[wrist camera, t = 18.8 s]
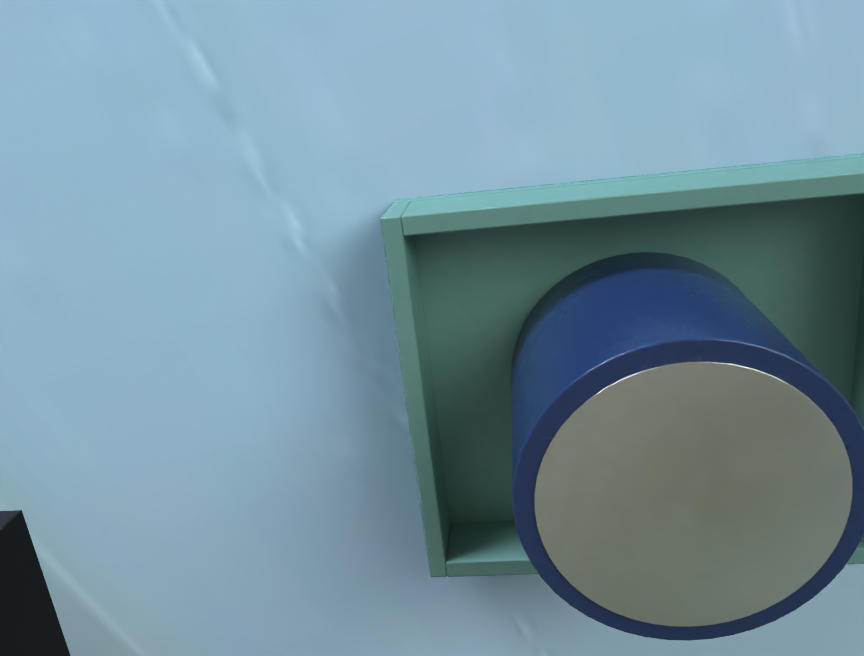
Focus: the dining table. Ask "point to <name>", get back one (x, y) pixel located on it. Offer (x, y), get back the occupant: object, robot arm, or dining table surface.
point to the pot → (677, 453)
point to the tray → (566, 253)
